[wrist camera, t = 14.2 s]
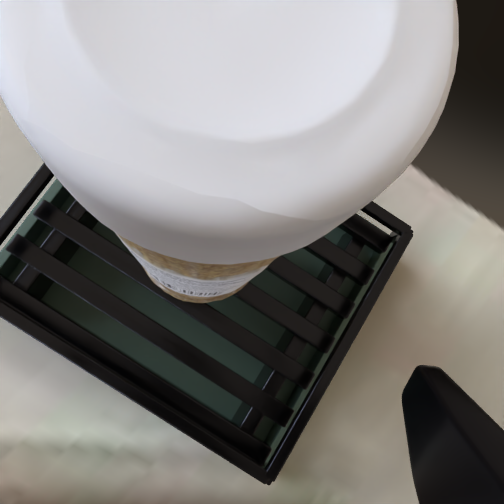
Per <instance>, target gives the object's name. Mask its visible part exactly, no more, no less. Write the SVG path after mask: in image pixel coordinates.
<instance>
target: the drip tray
mask: <svg viewBox="0 0 504 504" xmlns="http://www.w3.org/2000/svg"><path fill="white" fill-rule="evenodd" d="M43 200H47V201H48V202H50V203H51V204H53V205H54V206H56V207H58V208H59V209H61V210H62V211H64V212H65V213H66V211H67V210H68V209H69V207H70V206H71V205H72V203H73V202H74V201H75V198H74V197H73V196H72V195H71V194H70V193H69V191H68V190H67V189H66V188H65V187H64V186H63V185H62V184H61V183H60V182H59V180H58V179H56V180H55V181H54V183H53V184H52V185H51V187H50V188H49V189H48V191H47V192H46V193H45V194H44V196H43V197H42V198H41V200H40V201H39V202H38V204H37V205H36V206H35V207H34V209H33V210H32V211H31V213H30V214H29V215H28V217H27V218H26V219H25V220H24V222H23V223H22V224H21V226H20V227H19V228H18V230H17V231H16V232H15V233H14V235H13V236H12V237H11V239H10V240H9V241H8V243H7V244H6V245H5V247H4V248H3V249H2V250H1V252H0V274H2V275H4V276H5V277H7V278H8V279H10V280H11V281H13V282H14V281H15V279H16V278H17V277H18V275H19V274H20V273H21V271H22V270H23V269H24V267H25V266H26V265H27V263H25V262H23V261H22V260H20V259H19V258H17V257H16V256H14V255H12V254H11V253H9V252H8V251H6V250H5V249H6V247H7V246H8V245H9V243H10V242H11V241H12V239H13V238H14V237H15V235H16V234H20V235H22V236H24V237H25V238H27V239H28V240H30V241H31V242H33V243H34V244H36V245H38V246H39V247H40V246H41V245H42V243H43V242H44V241H45V239H46V238H47V237H48V235H49V234H50V233H51V231H52V230H53V228H51V227H50V226H48V225H47V224H45V223H44V222H42V221H40V220H39V219H37V218H36V217H35V216H33V212H34V211H35V210H36V208H37V207H38V206H39V205H40V203H41V202H42V201H43ZM357 215H358V214H357ZM360 217H361V216H360ZM363 219H364V218H363ZM366 221H367V220H366ZM371 224H372V223H371ZM374 226H375V225H374ZM377 228H378V227H377ZM92 230H93V231H95V232H96V233H98V234H100V235H101V236H103V237H104V238H106V239H107V240H109V241H110V242H112V243H114V244H115V245H117V246H118V247H120V248H121V249H123V250H124V251H126V252H128V253H129V254H131V255H132V256H133V254H132V253H131V252H130V251H129V250H128V248H127V247H126V246H125V245H124V244H123V242H122V241H121V240H120V238H119V237H118V236H117V234H116V233H115V232H114V231H113V230H111V229H110V228H108V227H106V226H105V225H103V224H102V223H101V222H100V221H98V223H97V224H96V225H95V227H94V228H93V229H92ZM380 230H381V229H380ZM383 232H384V231H383ZM345 233H346V232H345V231H343V230H342V229H340V228H339V227H336V228H334V229H333V230H331V231H330V232H329V233H327V234H326V235H324V236H323V237H325V238H326V239H328V240H329V241H331V242H332V243H334V244H335V245H337V243H338V242H339V240H340V238H341V237H342V235H343V234H345ZM386 234H387V233H386ZM392 245H393V243H391V244H390V245H389V247H388V249H387V251H386V252H385V253H382V254H378V253H377V252H375V251H374V250H372V249H371V248H369V247H368V246H366V245H364V247H363V249H362V250H361V252H360V254H359V256H358V257H357V259H358V260H360V261H361V262H363V263H364V264H366V265H368V266H369V267H371V268H372V269H374V273H373V275H372V277H371V279H370V280H369V282H368V284H367V285H364V286H360V285H358V284H357V283H355V282H354V281H352V280H351V279H349V278H348V277H346V278H345V279H344V281H343V283H342V285H341V286H340V288H339V290H338V291H337V292H339V293H340V294H342V295H343V296H345V297H346V298H348V299H349V300H351V301H353V302H354V303H355V306H354V308H353V310H352V312H351V313H350V315H349V317H348V318H347V319H341V318H339V317H338V316H336V315H335V314H333V313H332V312H330V311H329V310H326V312H325V314H324V315H323V317H322V319H321V320H320V322H319V324H318V325H317V326H318V327H320V328H321V329H323V330H324V331H326V332H328V333H329V334H331V335H332V336H334V337H335V341H334V343H333V345H332V346H331V348H330V350H329V352H328V353H327V354H325V353H321V352H320V351H318V350H317V349H315V348H314V347H312V346H310V345H309V344H306V346H305V348H304V349H303V351H302V353H301V354H300V356H299V358H298V360H297V362H298V363H300V364H302V365H303V366H305V367H306V368H308V369H309V370H311V371H312V372H314V373H315V376H314V378H313V380H312V381H311V383H310V385H309V386H308V388H307V389H306V390H304V389H302V388H301V387H299V386H298V385H296V384H294V383H293V382H291V381H290V380H288V379H287V378H286V380H285V382H284V383H283V385H282V387H281V389H280V390H279V392H278V394H277V395H276V397H275V398H277V399H278V400H280V401H281V402H283V403H284V404H286V405H288V406H289V407H291V408H292V409H293V410H294V413H293V415H292V416H291V418H290V420H289V422H288V423H287V425H286V427H285V428H284V427H282V426H280V425H279V424H277V423H276V422H274V421H273V420H271V419H269V418H268V417H266V416H264V418H263V419H262V421H261V423H260V424H259V426H258V428H257V430H256V431H255V433H254V435H255V436H257V437H258V438H260V439H261V440H263V441H264V442H266V443H268V444H269V445H270V447H271V448H272V451H271V453H270V454H269V456H268V458H267V460H266V461H265V462H267V463H268V462H269V460H270V458H271V456H272V455H273V453H274V451H275V449H276V448H277V446H278V444H279V442H280V441H281V439H282V437H283V435H284V434H285V432H286V430H287V428H288V427H289V425H290V423H291V421H292V420H293V418H294V416H295V414H296V413H297V411H298V409H299V407H300V406H301V404H302V402H303V400H304V399H305V397H306V395H307V393H308V392H309V390H310V388H311V386H312V385H313V383H314V381H315V379H316V378H317V376H318V374H319V372H320V371H321V369H322V367H323V365H324V364H325V362H326V360H327V358H328V357H329V355H330V353H331V351H332V350H333V348H334V346H335V344H336V343H337V341H338V339H339V337H340V336H341V334H342V332H343V331H344V329H345V327H346V325H347V324H348V322H349V320H350V318H351V317H352V315H353V313H354V311H355V310H356V308H357V306H358V304H359V303H360V301H361V299H362V297H363V296H364V294H365V292H366V290H367V289H368V287H369V285H370V283H371V282H372V280H373V278H374V276H375V275H376V273H377V271H378V269H379V268H380V266H381V264H382V262H383V261H384V259H385V257H386V255H387V254H388V252H389V250H390V248H391V247H392ZM282 256H283V257H285V258H286V259H288V260H290V261H291V262H293V263H294V264H296V265H297V266H299V267H300V268H302V269H303V270H305V271H306V272H308V273H309V274H311V275H313V276H314V277H316V278H317V277H318V275H319V273H320V272H321V270H322V268H323V267H324V265H325V262H323V261H322V260H320V259H318V258H317V257H315V256H314V255H312V254H311V253H309V252H308V251H306V250H305V249H303V248H300V249H298V250H295V251H293V252H290V253H287V254H284V255H282ZM67 265H69V266H70V267H72V268H74V269H75V270H77V271H78V272H80V273H81V274H83V275H84V276H86V277H88V278H89V279H91V280H92V281H94V282H95V283H97V284H99V285H100V286H102V287H103V288H105V289H106V290H108V291H109V292H111V293H113V294H114V295H116V296H117V297H119V298H120V299H122V300H124V301H125V302H127V303H128V304H130V305H131V306H133V307H134V308H136V309H138V310H139V311H141V312H142V313H144V314H145V315H147V316H149V317H150V318H152V319H153V320H155V321H156V322H158V323H159V324H161V325H163V326H164V327H166V328H167V329H169V330H170V331H172V332H174V333H175V334H177V335H178V336H180V337H181V338H183V339H184V340H186V341H188V342H189V343H191V344H192V345H194V346H195V347H197V348H199V349H200V350H202V351H203V352H205V353H206V354H208V355H209V356H211V357H213V358H214V359H216V360H217V361H219V362H220V363H222V364H224V365H225V366H227V367H228V368H230V369H231V370H233V371H234V372H236V373H238V374H239V375H241V376H242V377H244V378H245V379H247V380H249V381H250V382H252V383H254V381H255V380H256V378H257V376H258V375H259V373H260V371H261V370H262V368H263V366H264V365H265V364H263V363H262V362H260V361H259V360H257V359H255V358H254V357H252V356H251V355H249V354H248V353H246V352H245V351H243V350H241V349H240V348H238V347H237V346H235V345H234V344H232V343H231V342H229V341H227V340H226V339H224V338H223V337H221V336H220V335H218V334H217V333H215V332H213V331H212V330H210V329H209V328H207V327H206V326H204V325H203V324H201V323H199V322H198V321H196V320H195V319H193V318H192V317H190V316H188V315H187V314H185V313H184V312H182V311H181V310H179V309H178V308H176V307H174V306H173V305H171V304H170V303H168V302H167V301H165V300H164V299H162V298H160V297H159V296H157V295H156V294H154V293H153V292H151V291H150V290H148V289H146V288H145V287H143V286H142V285H140V284H139V283H137V282H136V281H134V280H132V279H131V278H129V277H128V276H126V275H125V274H123V273H122V272H120V271H118V270H117V269H115V268H114V267H112V266H111V265H109V264H107V263H106V262H104V261H103V260H101V259H100V258H98V257H97V256H95V255H93V254H92V253H90V252H89V251H87V250H86V249H84V248H83V247H81V246H80V247H79V249H78V250H77V251H76V253H75V254H74V255H73V257H72V258H71V260H70V261H69V262H68V264H67ZM249 282H250V283H252V284H253V285H255V286H256V287H258V288H260V289H261V290H263V291H264V292H266V293H267V294H269V295H270V296H272V297H273V298H275V299H277V300H278V301H280V302H281V303H283V304H284V305H286V306H287V307H289V308H290V309H292V310H294V311H295V312H297V310H298V308H299V307H300V305H301V303H302V302H303V300H304V298H305V297H306V295H304V294H302V293H301V292H299V291H298V290H296V289H295V288H293V287H292V286H290V285H289V284H287V283H286V282H284V281H282V280H281V279H279V278H278V277H276V276H275V275H273V274H272V273H270V272H269V271H267V270H266V269H264V270H263V271H262V272H261V273H259V274H258V275H256V276H255V277H254V278H252V279H251V280H250V281H249ZM41 300H43V301H44V302H46V303H48V304H49V305H51V306H52V307H54V308H55V309H57V310H59V311H60V312H62V313H63V314H65V315H66V316H68V317H70V318H71V319H73V320H74V321H76V322H77V323H79V324H81V325H82V326H84V327H85V328H87V329H88V330H90V331H92V332H93V333H95V334H96V335H98V336H99V337H101V338H103V339H104V340H106V341H107V342H109V343H110V344H112V345H114V346H115V347H117V348H118V349H120V350H121V351H123V352H125V353H126V354H128V355H129V356H131V357H132V358H134V359H136V360H137V361H139V362H140V363H142V364H143V365H145V366H147V367H148V368H150V369H151V370H153V371H154V372H156V373H158V374H159V375H161V376H162V377H164V378H165V379H167V380H169V381H170V382H172V383H173V384H175V385H176V386H178V387H180V388H181V389H183V390H184V391H186V392H187V393H189V394H191V395H192V396H194V397H195V398H197V399H198V400H200V401H202V402H203V403H205V404H206V405H208V406H209V407H211V408H213V409H214V410H216V411H217V412H219V413H220V414H222V415H224V416H225V417H227V418H228V419H230V420H232V418H233V416H234V415H235V413H236V411H237V410H238V408H239V406H240V405H241V403H242V401H241V400H240V399H238V398H237V397H235V396H233V395H232V394H230V393H229V392H227V391H226V390H224V389H222V388H221V387H219V386H218V385H216V384H215V383H213V382H211V381H210V380H208V379H207V378H205V377H204V376H202V375H200V374H199V373H197V372H196V371H194V370H193V369H191V368H189V367H188V366H186V365H185V364H183V363H182V362H180V361H179V360H177V359H175V358H174V357H172V356H171V355H169V354H168V353H166V352H164V351H163V350H161V349H160V348H158V347H157V346H155V345H153V344H152V343H150V342H149V341H147V340H146V339H144V338H142V337H141V336H139V335H138V334H136V333H135V332H133V331H132V330H130V329H128V328H127V327H125V326H124V325H122V324H121V323H119V322H117V321H116V320H114V319H113V318H111V317H110V316H108V315H106V314H105V313H103V312H102V311H100V310H99V309H97V308H95V307H94V306H92V305H91V304H89V303H88V302H86V301H84V300H83V299H81V298H80V297H78V296H77V295H75V294H74V293H72V292H70V291H69V290H67V289H66V288H64V287H63V286H61V285H59V284H58V283H56V282H55V281H54V283H53V284H52V286H51V287H50V288H49V290H48V291H47V292H46V294H45V295H44V297H43V298H42V299H41ZM207 304H208V305H210V306H211V307H213V308H215V309H216V310H218V311H219V312H221V313H222V314H224V315H225V316H227V317H229V318H230V319H232V320H233V321H235V322H236V323H238V324H239V325H241V326H242V327H244V328H246V329H247V330H249V331H250V332H252V333H253V334H255V335H256V336H258V337H260V338H261V339H263V340H264V341H266V342H267V343H269V344H270V345H272V346H274V347H276V345H277V343H278V342H279V340H280V338H281V337H282V335H283V333H284V332H285V330H286V329H284V328H283V327H281V326H279V325H278V324H276V323H275V322H273V321H272V320H270V319H269V318H267V317H266V316H264V315H262V314H261V313H259V312H258V311H256V310H255V309H253V308H252V307H250V306H248V305H247V304H245V303H244V302H242V301H241V300H239V299H238V298H236V297H235V296H233V295H231V296H229V297H227V298H225V299H223V300H217V301H212V302H208V303H207Z"/></svg>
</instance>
